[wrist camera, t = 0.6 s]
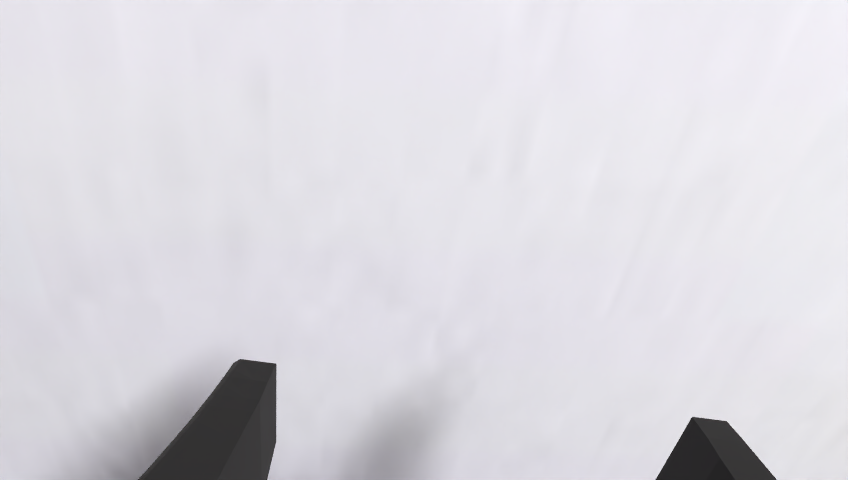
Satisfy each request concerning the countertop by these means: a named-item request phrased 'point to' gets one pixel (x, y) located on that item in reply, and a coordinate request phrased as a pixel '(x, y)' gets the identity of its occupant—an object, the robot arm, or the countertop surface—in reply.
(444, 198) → the countertop surface
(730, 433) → the robot arm
